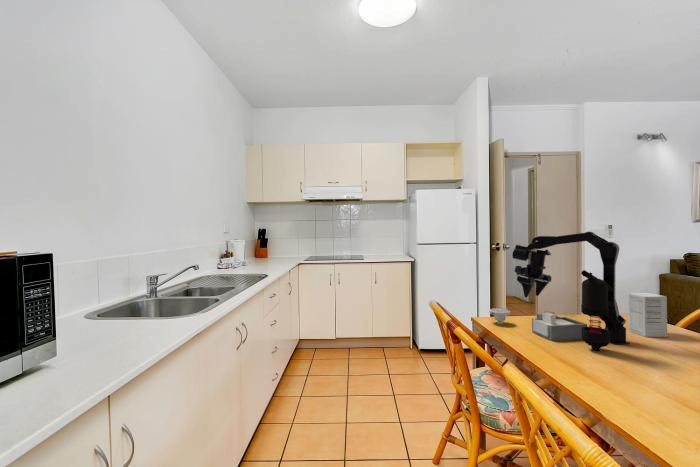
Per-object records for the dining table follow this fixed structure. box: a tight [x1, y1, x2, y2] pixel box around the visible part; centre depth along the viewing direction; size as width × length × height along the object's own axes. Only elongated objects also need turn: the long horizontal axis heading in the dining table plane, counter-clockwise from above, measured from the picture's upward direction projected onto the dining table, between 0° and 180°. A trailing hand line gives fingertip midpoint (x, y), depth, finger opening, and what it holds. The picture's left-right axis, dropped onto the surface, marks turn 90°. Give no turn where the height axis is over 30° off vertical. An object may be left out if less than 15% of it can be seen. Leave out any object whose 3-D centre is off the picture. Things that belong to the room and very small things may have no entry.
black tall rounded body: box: [580, 269, 614, 352], centre depth 129 cm, size 14×9×30 cm
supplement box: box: [627, 292, 668, 338], centre depth 148 cm, size 10×9×17 cm
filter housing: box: [531, 313, 588, 342], centre depth 150 cm, size 18×16×6 cm
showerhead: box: [488, 307, 512, 325], centre depth 166 cm, size 9×7×10 cm
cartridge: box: [532, 311, 574, 337], centre depth 147 cm, size 9×13×8 cm
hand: (531, 296), depth 160 cm, fingers open, 9 cm apart
